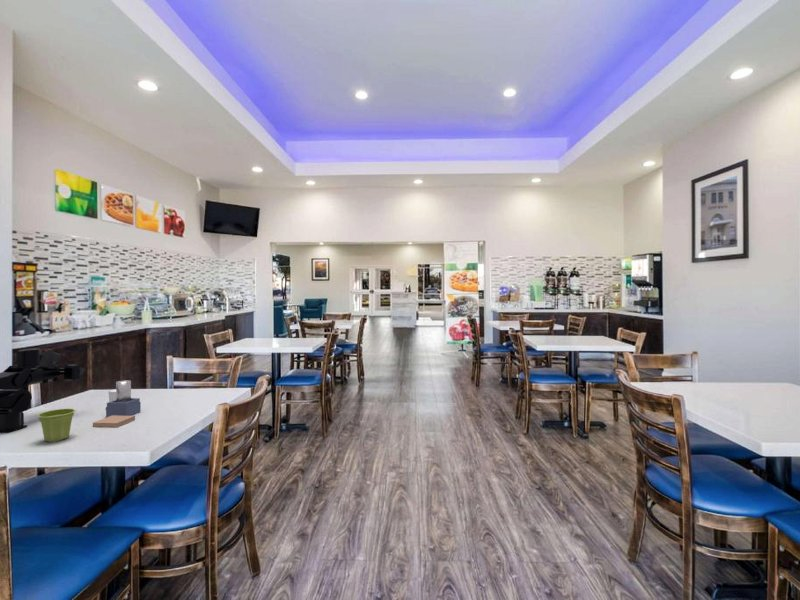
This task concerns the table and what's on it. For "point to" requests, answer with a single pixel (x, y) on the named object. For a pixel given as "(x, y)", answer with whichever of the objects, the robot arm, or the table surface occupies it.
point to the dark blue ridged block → (123, 408)
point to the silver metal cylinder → (123, 391)
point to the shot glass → (112, 395)
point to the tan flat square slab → (113, 421)
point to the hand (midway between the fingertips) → (74, 369)
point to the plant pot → (56, 424)
